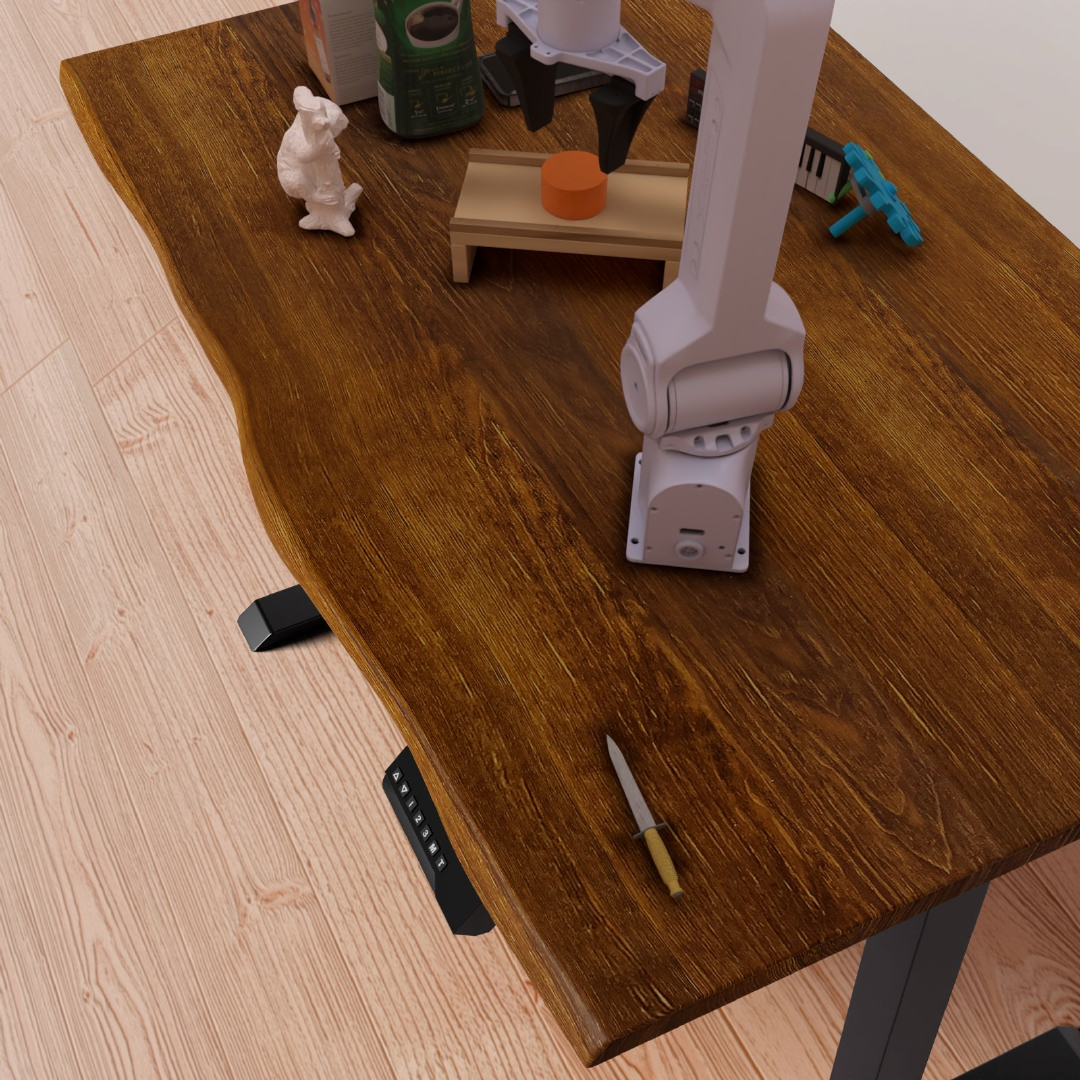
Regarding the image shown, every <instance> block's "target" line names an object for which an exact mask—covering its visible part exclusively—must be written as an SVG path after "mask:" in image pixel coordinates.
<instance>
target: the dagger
mask: <svg viewBox="0 0 1080 1080" xmlns="http://www.w3.org/2000/svg"><path fill="white" fill-rule="evenodd" d="M606 743H607V749H608V753H609V757H610V758H611V759H610V760H611V762H612V764H613V767H614V769H615V772H616V774H617V777H618V779H619V782H620V784H621V786H622V789H623V792H624V794H625V796H626V799H627V801H628V804H629V806H630V810H631V813H632V815H633V817H634V819H635V821H636V824H637V827H638V829H639V831H640V832H638V833H636V834H634V835H633V836H632V839H633V840H637V839H641V838H644V839H645V841H646V845H647V848H648V850H649V853H650V855H651V858H652V861H653V863H654V865H655V868H656V870H657V871H658V873H659V875H660V877H661V879H662V881H663V883H664V885H666V886H667V887H668V889H669V893H670V894H669V895H670V897H671V898H674V899H675V900H676V899H679V898H681V897H682V896H683V894H684V889H683V888H681V886H680V883H679V877H678V876H679V875H678V874H677V871H676V869H675V866H674V863H673V860H672V858H671V856H670V853H669V852H668V850H667V847H666V846H665V844H664V841H663V840H662V838H661V836H660V835H659V833H658V831H659V830H661V829H663V828H664V827H666V826H667V823H666V822H662V823H661V822H660V823H658V824H657V823H656V822H655V819H654V817H653V816H652V814H651V811H650V809H649V807H648V805H647V803H646V800H645V799H644V797H643V795H642V792H641V790H640V789H639V786H638V784H637V782H636V780H635V778H634V776H633V773H632V771H631V770H630V767H629V765H628V763H627V762H626V759H625V757H624V755H623V753H622V751H621V750H620V748H619V747H618V745H617V743H616V742H615V741H614V740H613V739H612V738H611V737H610V736H609V735H608V734H606Z"/></svg>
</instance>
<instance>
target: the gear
mask: <svg viewBox="0 0 1080 1080" xmlns="http://www.w3.org/2000/svg"><path fill="white" fill-rule="evenodd" d="M844 146H845V147H844V148H843V150H844V152H845V153H846V156H845V160H846V161H847V163H848V164H849V165H850V166H851V169H852V170H851V171H850V173H849V175H848V181H847V182H846V184H845V185H844V186H843V188H842V189H841V191H840V193H839V195H838V198H837V199H839V198H841V197H842V196H843V195H844V196H845V195H846V194H847V193H849V192H850V191H852V189H853V192H854V194H855V197H856V199H857V201H858V204H859V205H857V206H856V207H855V208H853V209H852V210H851V211H849V212H848V213H847V214H846V215H844V216H843V217H842V218H840V219H839V220H838V221H836V222H835V223H834V224H832V225H831V226H830V227H828V229H829V232H830V233H831V234H832V236H833V237H834V238H835V239H836V238H838V237H840V236H841V235H842V234H843V233H845V232H846V231H847V230H849V229H850V228H852V227H853V226H854V225H856V224H857V223H858V222H859V221H861V220H862V219H864V218H865V217H867V216H868V218H871V217H873V216H874V215H876V214H877V213H878V212H880V211H882V213H884V215H885V216H886V217H887V219H886V222H887V225H889V227H890V228H891V230H892V231H893V232H894V233H895V234H898V233H900V234H899V235H900V237H901V239H902V240H903V242H904V243H905V244H906V245H907V247H909V248H911V247H913V248H916V247H918V246H919V245H920V244H922V243H923V242H924V239H923V237H922V236H921V234H920V233H921V230H920V227H919V226H918V224H917V223H916V222H915V221H914V220H913V219H912V218H911V216H912V213H911V212H910V210H909V208H908V206H907V205H906V203H904V202H903V201H901V199H899V197H898V196H897V195H896V194H897V193H898V192H899V191H898V189H897V187H896V186H895V184H893V182H892V181H890V180H888V179H887V180H886V178H885V177H884V174H882V172H881V169H880V167H879V166H878V165H877V163H876V162H875V160H874V158H873V156H872V155H871V154H870V152H869V150H867V149H866V150H864V149H863V148H862V147H861V146H860V145H859V144H858V143H857V144H855V143H854V141H850V142H848V143H847V144H846V145H844ZM828 199H829V201H830V202H831V203H830V202H829V203H830V204H831V205H832V204H833V203H834V201H835V196H834V193H832V194H830V195H829V196H828Z"/></svg>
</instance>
